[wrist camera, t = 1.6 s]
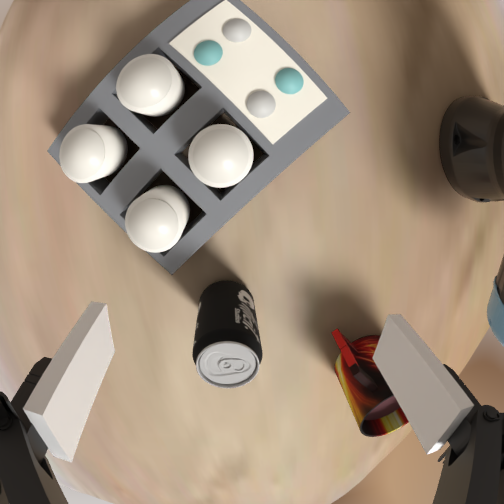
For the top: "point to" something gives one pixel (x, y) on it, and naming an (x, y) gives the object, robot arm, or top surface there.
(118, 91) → the button
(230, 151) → the button
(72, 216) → the top surface
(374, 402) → the mug
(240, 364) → the beverage can
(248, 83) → the board
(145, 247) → the button
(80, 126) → the button
